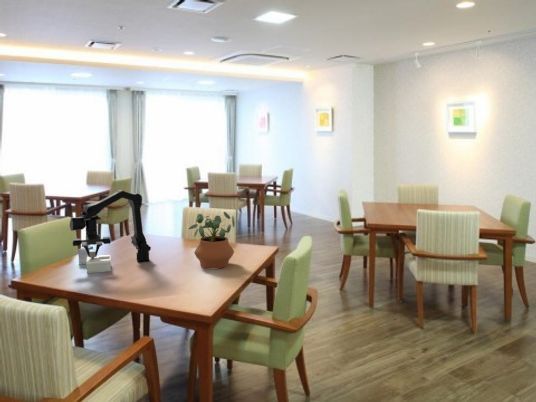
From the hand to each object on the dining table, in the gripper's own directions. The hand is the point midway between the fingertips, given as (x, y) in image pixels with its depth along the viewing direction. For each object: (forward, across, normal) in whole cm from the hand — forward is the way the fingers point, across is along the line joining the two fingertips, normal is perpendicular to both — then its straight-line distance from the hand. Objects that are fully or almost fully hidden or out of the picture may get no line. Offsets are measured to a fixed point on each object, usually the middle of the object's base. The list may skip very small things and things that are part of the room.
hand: (92, 256), depth 240 cm
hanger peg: (+4, 0, 0) cm, 5 cm away
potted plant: (+7, +62, -10) cm, 63 cm away
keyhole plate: (+7, +3, 0) cm, 8 cm away
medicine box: (+7, -4, +16) cm, 18 cm away
